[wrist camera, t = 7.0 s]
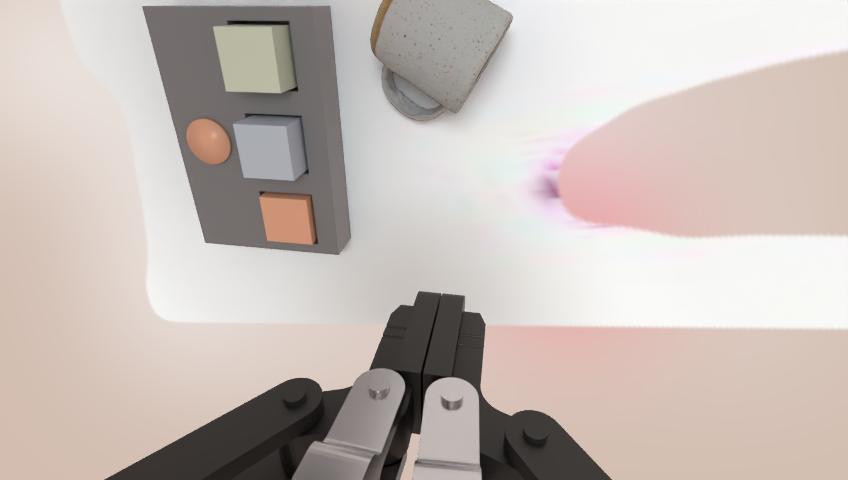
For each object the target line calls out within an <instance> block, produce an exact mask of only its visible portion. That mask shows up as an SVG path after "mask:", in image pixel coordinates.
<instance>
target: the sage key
mask: <svg viewBox="0 0 848 480" xmlns="http://www.w3.org/2000/svg"><path fill="white" fill-rule="evenodd" d="M213 30H214V34H215V39H216V44H217V49H218V54H219V59H220V64H221V69H222V74H223V78H224V83H225V88H226V91H230V92H260V93H283V92H285V91H288V90H290V89H292V88H295V87H297V86H298V84H297V76H296V69H295V61H294V53H293V46H292V38H291V30H290V25H257V24H235V25H224V26H214V27H213Z"/></svg>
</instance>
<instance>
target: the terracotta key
mask: <svg viewBox="0 0 848 480" xmlns="http://www.w3.org/2000/svg"><path fill="white" fill-rule="evenodd" d="M259 199H260V204H261V210H262V215H263V220H264V225H265V231H266V236H267V241H275V242H287V243H298V244H309V245H312V244H313V243H314V242H315V241H316V240H317V230H316V223H315V215H314V207H313V200H312V195H310V194H295V193H281V192H267V191H266V192H265V193H264V194H262V195H261V196H260V197H259Z"/></svg>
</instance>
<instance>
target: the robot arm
mask: <svg viewBox="0 0 848 480" xmlns="http://www.w3.org/2000/svg"><path fill="white" fill-rule="evenodd" d="M464 309H465V296H462V295H452V294H442V296H441V293H431V292H422V291H419V292H418V294H417V297H416V300H415V303H414V306H406V305H400V306H399V307H398V308H397V309H396V310H395V311H394V312H393V313H392V314H391V315H390V318H389V321H388V323H387V327H386V328H385V331H384V333H383V337H382V339H381V341H380V344H379V346H378V349H377V351H376V354H375V357H374V359H373V362H372V364H371V367H370V370H369V371H367V372H365V373H363V374H362V375H360V376H359V377H358V378H357V379H356V381H355V383H354V385H353V386H351V387H348V388H345V389H339V390H331V391H324V392H322V389H321V387H320V386H319V384H318V383H317V382H315V381H313V380H311V379H308V378H295V379H290V380H287V381H285V382H283V383H281V384H279V385H277V386H276V387H274V388H272V389H270V390H268V391H267V392H265V393H263V394H261V395H259V396H257V397H255V398H254V399H252V400H250V401H248V402H246V403H244V404H243V405H241V406H239V407H237V408H235V409H233V410H232V411H230V412H228V413H226V414H224V415H222V416H221V417H219V418H217V419H215V420H213V421H211V422H210V423H208V424H206V425H204V426H202V427H200V428H199V429H197V430H195V431H193V432H191V433H189V434H187V435H186V436H184V437H182V438H180V439H178V440H177V441H175V442H173V443H171V444H169V445H167V446H165V447H164V448H162V449H160V450H158V451H156V452H155V453H153V454H151V455H149V456H147V457H145V458H143V459H142V460H140V461H138V462H136V463H134V464H132V465H131V466H129V467H127V468H125V469H123V470H121V471H120V472H118V473H116V474H114V475H113V476H110V477H109V478H107V479H105V480H400V478H401V475H402V472H403V469H404V465H405V462H406V458H407V449H408V446H409V442H410V438H411V434H412V433H415V434H420V441H419V449H418V457H417V461H415V465H414V470H413V478H412V480H612V479H610V477H609V476H608V475H607V474H606V473H605V472H604V471H603V470H602V469H601V468H600V467H599V466H598V465H597V464H596V463H595V462H594V461H593V460H592V459H591V457H589V455H588V454H587V453H586V452H585V451H584V450H583V449H582V448H581V447H580V446H579V445H578V444H577V443H576V442H575V441H574V440H573V438H572V437H571V436H569V434H568V433H567V432H566V431H565V430H564V429H563V428H562V427H561V426H560V425H559V424H558V423H557V422H556V421H555V420H554V419H553V418H551V417H550V416H548V415H546V414H544V413H542V412H539V411H533V410H524V411H520V412H517V413H516V414H514V415H513V416H510V415H507V414H505V413H503V412H500V411H499V410H497V409H495V408H493V407H492V406H491V405H490V404H488V402H487V401H486V400H485V398H484V397H483V395H482V393H481V389H480V383H481V372H482V360H483V348H484V336H485V323H484V321H483V319H482V317H481V315H480V313H472V312H464Z"/></svg>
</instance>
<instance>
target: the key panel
mask: <svg viewBox="0 0 848 480" xmlns="http://www.w3.org/2000/svg"><path fill="white" fill-rule="evenodd" d="M142 7H143V11H144V15H145V18H146V22H147V26H148V30H149V33H150V37H151V41H152V45H153V48H154V52H155V56H156V60H157V63H158V67H159V71H160V74H161V78H162V82H163V86H164V89H165V93H166V97H167V101H168V104H169V108H170V112H171V116H172V119H173V123H174V127H175V131H176V134H177V138H178V142H179V146H180V149H181V153H182V157H183V161H184V164H185V168H186V172H187V176H188V179H189V183H190V187H191V191H192V194H193V198H194V202H195V206H196V209H197V213H198V217H199V221H200V224H201V228H202V232H203V236H204V239H205V243H214V244H225V245H236V246H247V247H258V248H269V249H280V250H291V251H302V252H313V253H324V254H335V255H339V254H340V252H341V251H342V249H343V248H344V247H345V245H346V244H347V242H348V241H349V239H350V238H351V234H350V223H349V212H348V201H347V190H346V179H345V168H344V157H343V145H342V134H341V123H340V112H339V101H338V90H337V79H336V67H335V56H334V45H333V34H332V23H331V12H330V6H142ZM235 24H257V25H290V30H291V38H292V46H293V53H294V61H295V69H296V76H297V84H298V86H297V87H295V88H292V89H290V90H288V91H285V92H283V93H260V92H230V91H226V88H225V83H224V78H223V74H222V69H221V64H220V59H219V54H218V49H217V44H216V39H215V34H214V30H213V27H214V26H224V25H235ZM252 115H268V116H292V117H302V123H303V130H304V138H305V146H306V153H307V161H308V169H307V170H306V171H305V172H304V173H303V174H301V175H300V176H299V177H298V178H297V179H295V180H294V181H289V180H274V179H259V178H244V176H243V172H242V167H241V162H240V157H239V152H238V147H237V142H236V137H235V132H234V127H233V124H234V123H236V122H238V121H241V120H243V119H245V118H247V117H250V116H252ZM266 191H267V192H281V193H295V194H310V195H312V200H313V207H314V215H315V223H316V230H317V240H316V241H315V242H314V243H313V244H312V245H309V244H298V243H287V242H275V241H267V236H266V231H265V225H264V220H263V215H262V210H261V204H260V199H259V197H260V196H261V195H262V194H264V193H265V192H266Z"/></svg>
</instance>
